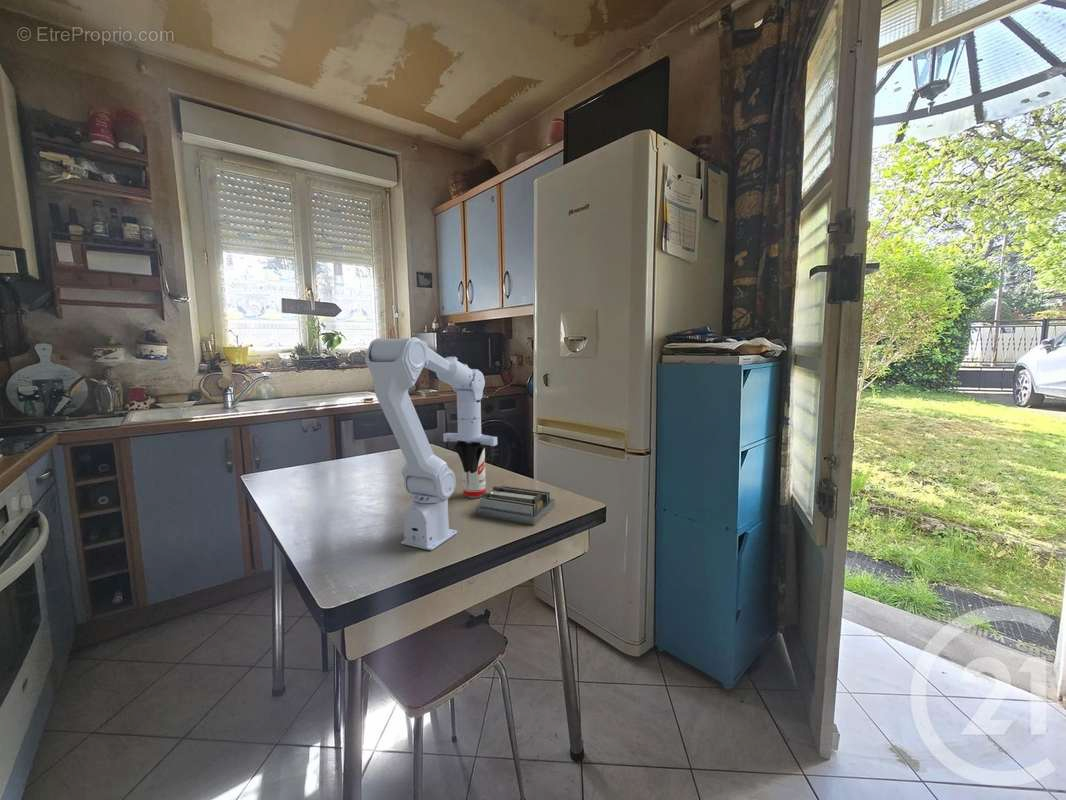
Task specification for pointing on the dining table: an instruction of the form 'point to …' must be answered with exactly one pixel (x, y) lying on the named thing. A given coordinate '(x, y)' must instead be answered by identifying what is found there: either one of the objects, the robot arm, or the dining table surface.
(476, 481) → the beer can
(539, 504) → the heatsink block
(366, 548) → the dining table surface
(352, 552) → the dining table surface
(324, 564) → the dining table surface
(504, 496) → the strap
